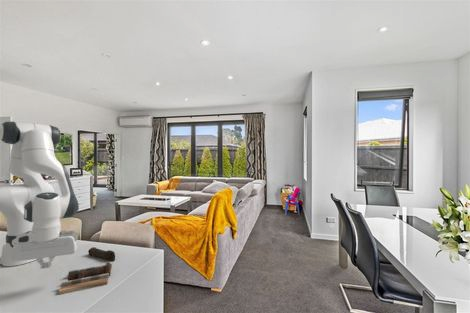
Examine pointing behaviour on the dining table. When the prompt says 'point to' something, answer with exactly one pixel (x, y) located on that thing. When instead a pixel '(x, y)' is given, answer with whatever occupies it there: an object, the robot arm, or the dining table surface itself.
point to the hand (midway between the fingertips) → (45, 267)
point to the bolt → (91, 272)
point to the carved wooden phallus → (102, 254)
